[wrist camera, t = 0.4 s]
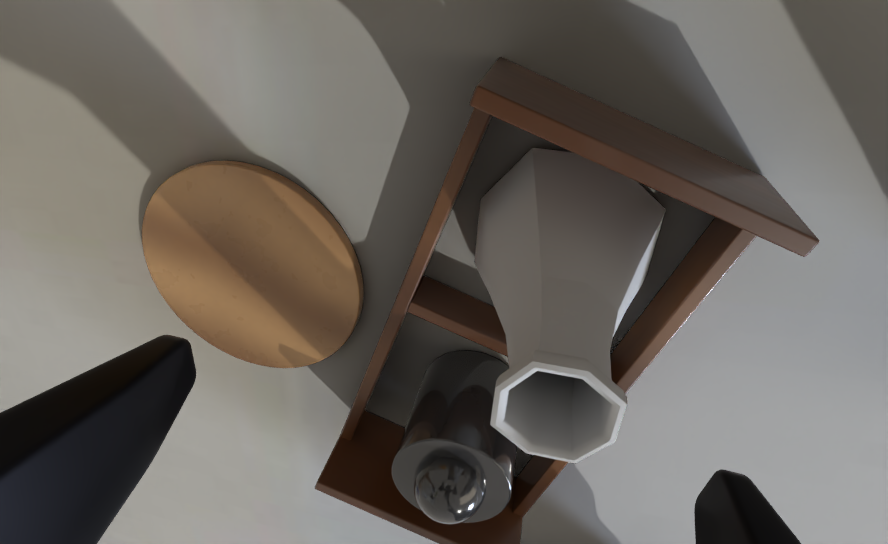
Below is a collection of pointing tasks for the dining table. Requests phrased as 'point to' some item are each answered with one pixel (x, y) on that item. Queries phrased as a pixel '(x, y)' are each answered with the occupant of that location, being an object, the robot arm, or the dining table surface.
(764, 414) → the dining table surface
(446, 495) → the pepper pot
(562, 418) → the flask
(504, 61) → the rack
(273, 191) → the cork trivet
